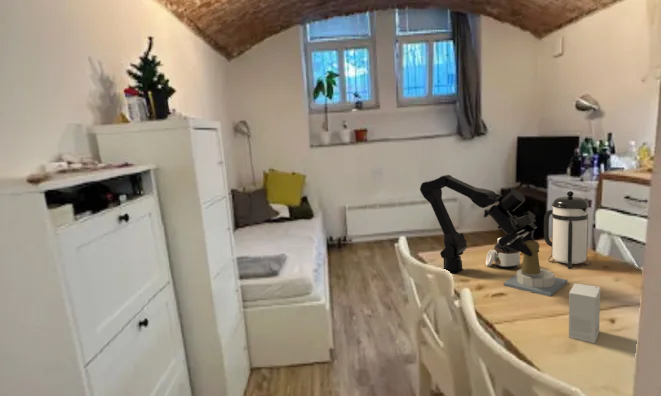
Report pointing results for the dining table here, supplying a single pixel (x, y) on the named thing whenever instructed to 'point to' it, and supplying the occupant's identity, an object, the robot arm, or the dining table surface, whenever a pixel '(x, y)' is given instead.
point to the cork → (531, 259)
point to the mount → (536, 282)
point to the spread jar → (503, 257)
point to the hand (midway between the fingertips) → (534, 253)
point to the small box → (584, 312)
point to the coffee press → (568, 229)
